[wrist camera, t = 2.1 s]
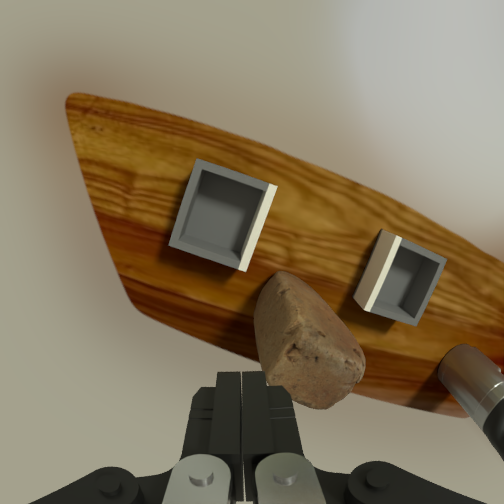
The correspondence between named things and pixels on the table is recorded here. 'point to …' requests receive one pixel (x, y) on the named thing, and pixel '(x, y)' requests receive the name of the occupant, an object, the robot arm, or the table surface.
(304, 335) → the block
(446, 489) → the robot arm
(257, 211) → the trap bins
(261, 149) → the table surface
